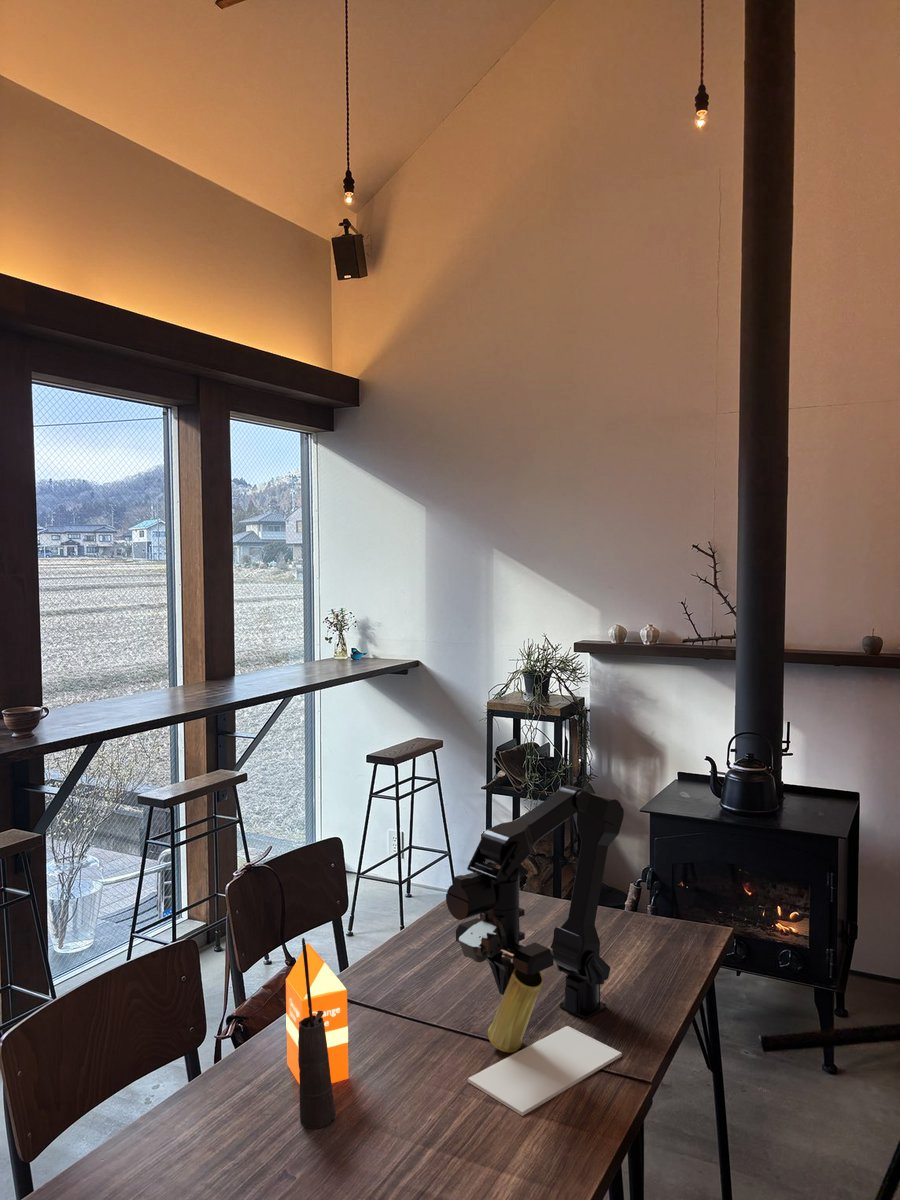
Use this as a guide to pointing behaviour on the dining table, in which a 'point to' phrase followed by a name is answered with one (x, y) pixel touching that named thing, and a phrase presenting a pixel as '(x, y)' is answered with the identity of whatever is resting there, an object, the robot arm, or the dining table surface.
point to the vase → (515, 1011)
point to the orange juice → (324, 997)
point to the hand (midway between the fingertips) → (503, 993)
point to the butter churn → (314, 1066)
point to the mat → (544, 1069)
